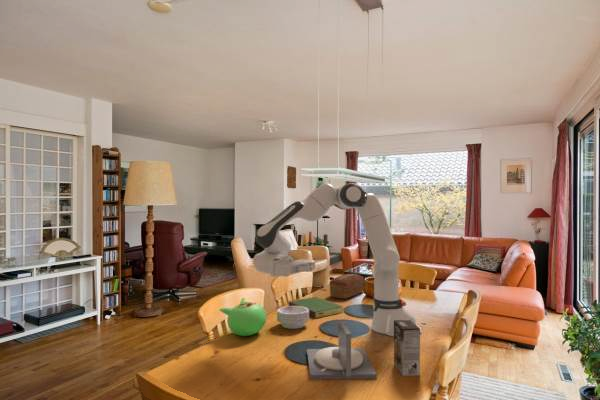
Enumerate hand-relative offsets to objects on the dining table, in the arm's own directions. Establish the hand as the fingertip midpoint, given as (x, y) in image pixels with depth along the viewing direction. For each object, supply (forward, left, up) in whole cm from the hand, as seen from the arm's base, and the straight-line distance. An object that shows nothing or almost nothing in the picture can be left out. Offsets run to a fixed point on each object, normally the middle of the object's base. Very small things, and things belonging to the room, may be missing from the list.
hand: (310, 269), depth 150 cm
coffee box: (-32, +19, -32) cm, 49 cm away
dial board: (-9, +14, -32) cm, 36 cm away
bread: (-29, -88, -32) cm, 98 cm away
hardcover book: (-6, -55, -33) cm, 64 cm away
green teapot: (+28, -19, -32) cm, 46 cm away
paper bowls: (+7, -29, -32) cm, 44 cm away
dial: (-9, +18, -30) cm, 37 cm away
